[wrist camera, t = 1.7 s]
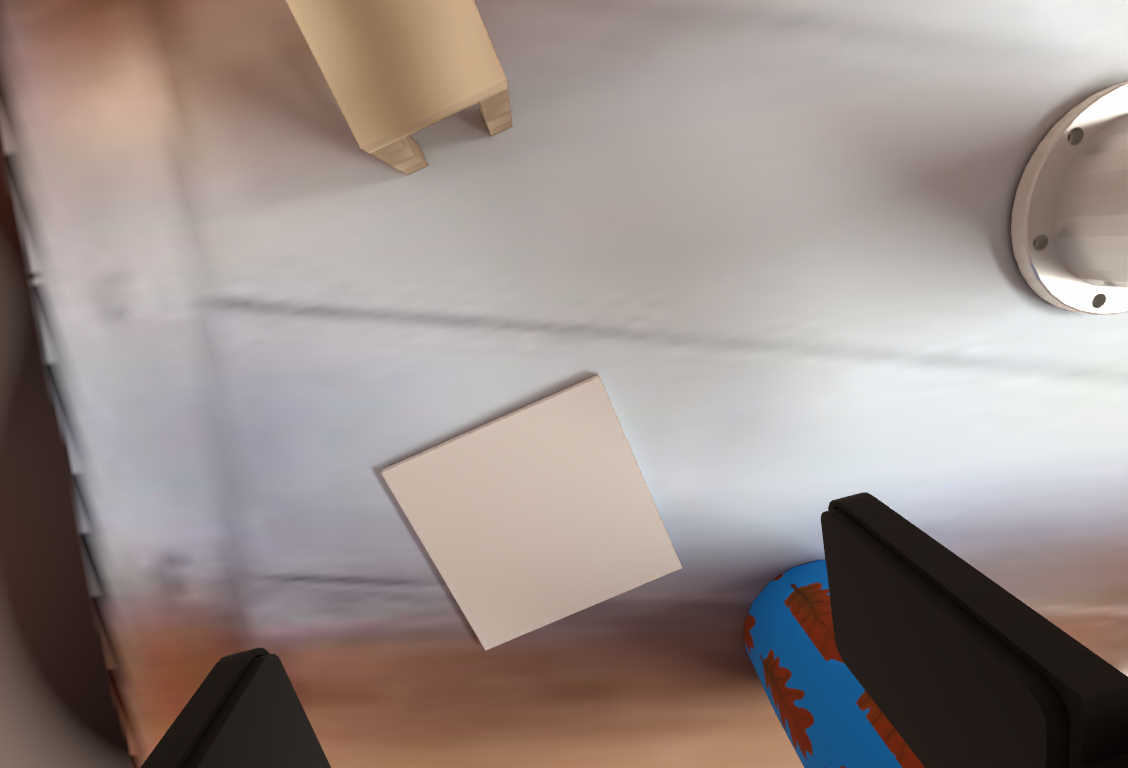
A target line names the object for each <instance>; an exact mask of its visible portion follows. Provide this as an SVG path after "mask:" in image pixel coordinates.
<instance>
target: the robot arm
mask: <svg viewBox="0 0 1128 768" xmlns="http://www.w3.org/2000/svg"><path fill="white" fill-rule="evenodd" d="M1011 237H1012V245H1013V252H1014V256H1015V259H1016V261H1017V264H1018V267H1019V270H1020V272H1021V274H1022V275H1023V277H1024V278H1025V280H1026V282H1027V283H1028V285H1029V286H1030V287H1031V288H1032V289H1033V290H1034V291H1035V292H1036V293H1037V294H1038V295H1039V296H1040V297H1041V298H1042V299H1044V300H1045V301H1047V302H1049V303H1051V304H1052V305H1054V306H1056V307H1058V308H1062V309H1065V310H1069V311H1072V312H1078V313H1085V314H1094V315H1104V314H1118V313H1122V312H1126V311H1128V81H1127V82H1124V83H1120V84H1116V85H1113V86H1111V87H1109V88H1107V89H1104V90H1102V91H1100V92H1098V93H1095V94H1093V95H1092V96H1090V97H1089V98H1087V99H1086V100H1084V101H1083V102H1081V103H1080V104H1078V105H1077V106H1075V107H1074V108H1072V109H1071V110H1070V111H1069V112H1068V113H1067V114H1066V115H1065V116H1064V117H1063V118H1061V119H1060V120H1059V121H1058V122H1057V123H1056V124H1055V125H1054V126H1053V127H1052V129H1051V130H1050V131H1049V132H1048V134H1047V135H1046V136H1045V137H1044V139H1043V140H1042V141H1041V142H1040V144H1039V145H1038V147H1037V148H1036V150H1035V152H1034V154H1033V155H1032V157H1031V159H1030V160H1029V162H1028V164H1027V166H1026V168H1025V170H1024V173H1023V175H1022V178H1021V180H1020V183H1019V185H1018V188H1017V192H1016V196H1015V201H1014V205H1013V210H1012V223H1011ZM821 525H822V534H823V542H824V551H825V560H826V568H827V577H828V586H829V594H830V603H831V612H832V620H833V629H834V638H835V643H836V647H837V650H838V652H839V654H840V656H841V658H842V660H843V662H844V663H845V665H846V666H847V667H848V669H849V670H850V671H851V673H852V674H853V675H854V676H855V678H856V679H857V680H858V682H859V683H860V684H861V686H862V687H863V688H864V689H865V691H866V692H867V693H868V695H869V696H870V697H871V698H872V700H873V701H874V702H875V704H876V705H877V706H878V707H879V709H880V710H881V711H882V713H883V714H884V715H885V717H886V718H887V719H888V720H889V722H890V723H891V724H892V726H893V727H894V728H895V729H896V731H897V732H898V733H899V735H900V736H901V737H902V738H903V740H904V741H905V742H906V744H907V745H908V746H909V747H910V749H911V750H912V751H913V753H914V754H915V755H916V757H917V758H918V759H919V760H920V762H921V763H922V764H923V766H924V767H925V768H1128V677H1127V676H1126V675H1124V674H1123V673H1121V672H1120V671H1119V670H1117V669H1116V668H1114V667H1113V666H1112V665H1110V664H1109V663H1107V662H1106V661H1105V660H1103V659H1102V658H1100V657H1099V656H1098V655H1096V654H1095V653H1093V652H1092V651H1091V650H1089V649H1088V648H1086V647H1085V646H1083V645H1082V644H1081V643H1079V642H1078V641H1076V640H1075V639H1074V638H1072V637H1071V636H1069V635H1068V634H1067V633H1065V632H1064V631H1062V630H1061V629H1060V628H1058V627H1057V626H1055V625H1054V624H1053V623H1051V622H1050V621H1048V620H1047V619H1045V618H1044V617H1043V616H1041V615H1040V614H1038V613H1037V612H1036V611H1034V610H1033V609H1031V608H1030V607H1029V606H1027V605H1026V604H1024V603H1023V602H1022V601H1020V600H1019V599H1017V598H1016V597H1015V596H1013V595H1012V594H1010V593H1009V592H1007V591H1006V590H1005V589H1003V588H1002V587H1000V586H999V585H998V584H996V583H995V582H993V581H992V580H991V579H989V578H988V577H986V576H985V575H984V574H982V573H981V572H979V571H978V570H977V569H975V568H974V567H972V566H971V565H969V564H968V563H967V562H965V561H964V560H962V559H961V558H960V557H958V556H957V555H955V554H954V553H953V552H951V551H950V550H948V549H947V548H946V547H944V546H943V545H941V544H940V543H939V542H937V541H936V540H934V539H933V538H931V537H930V536H929V535H927V534H926V533H924V532H923V531H922V530H920V529H919V528H917V527H916V526H915V525H913V524H912V523H910V522H909V521H908V520H906V519H905V518H903V517H902V516H901V515H899V514H898V513H896V512H895V511H893V510H892V509H891V508H889V507H888V506H886V505H885V504H884V503H882V502H881V501H879V500H878V499H877V498H875V497H874V496H872V495H871V494H869V493H859V494H855V495H852V496H848V497H844V498H840V499H836V500H832V501H831V502H830V504H829V507H828V511H826V512H823V513H822V515H821ZM141 768H331V767H330V765H329V762H328V760H327V758H326V756H325V754H324V752H323V750H322V748H321V745H320V743H319V741H318V739H317V737H316V735H315V733H314V731H313V728H312V726H311V724H310V722H309V720H308V718H307V716H306V714H305V712H304V709H303V707H302V705H301V703H300V701H299V699H298V697H297V695H296V692H295V690H294V688H293V686H292V684H291V682H290V680H289V678H288V675H287V673H286V671H285V669H284V667H283V665H282V663H281V661H280V659H279V657H278V656H276V655H275V654H269V652H268V651H267V650H265V649H264V648H256V649H252V650H248V651H244V652H240V653H236V654H232V655H228V656H225V657H223V658H221V659H220V660H219V661H218V662H217V663H216V665H215V666H214V668H213V669H212V670H211V672H210V673H209V674H208V676H207V677H206V679H205V680H204V681H203V683H202V684H201V685H200V687H199V688H198V689H197V691H196V692H195V694H194V695H193V696H192V698H191V699H190V700H189V702H188V703H187V705H186V706H185V707H184V709H183V710H182V711H181V713H180V714H179V716H178V717H177V718H176V720H175V721H174V722H173V724H172V725H171V727H170V728H169V729H168V731H167V732H166V733H165V735H164V736H163V738H162V739H161V740H160V742H159V743H158V744H157V746H156V747H155V749H154V750H153V751H152V753H151V754H150V755H149V757H148V758H147V760H146V761H145V762H144V764H143V765H142V766H141Z"/></svg>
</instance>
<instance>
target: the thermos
mask: <svg viewBox="0 0 1128 768" xmlns="http://www.w3.org/2000/svg"><path fill="white" fill-rule="evenodd" d="M744 646H745V648H746V650H747V652H748V655H749V657H750V659H751V661H752V663H753V666H754V668H755V670H756V672H757V674H758V676H759V679H760V681H761V683H762V685H763V687H764V689H765V692H766V694H767V696H768V698H769V700H770V702H771V704H772V707H773V709H774V711H775V713H776V715H777V717H778V719H779V721H780V723H781V724H782V726H783V728H784V730H785V732H786V734H787V736H788V738H789V740H790V741H791V743H792V745H793V747H794V749H795V751H796V753H797V755H798V756H799V758H800V760H801V762H802V764H803V766H804V768H925V767H924V766H923V764H922V763H921V762H920V760H919V759H918V758H917V757H916V755H915V754H914V753H913V751H912V750H911V749H910V747H909V746H908V745H907V744H906V742H905V741H904V740H903V738H902V737H901V736H900V735H899V733H898V732H897V731H896V729H895V728H894V727H893V726H892V724H891V723H890V722H889V720H888V719H887V718H886V717H885V715H884V714H883V713H882V711H881V710H880V709H879V707H878V706H877V705H876V704H875V702H874V701H873V700H872V698H871V697H870V696H869V695H868V693H867V692H866V691H865V689H864V688H863V687H862V686H861V684H860V683H859V682H858V680H857V679H856V678H855V676H854V675H853V674H852V673H851V671H850V670H849V669H848V667H847V666H846V665H845V663H844V662H843V660H842V658H841V656H840V654H839V652H838V650H837V647H836V643H835V638H834V629H833V620H832V612H831V603H830V594H829V586H828V577H827V568H826V560H817V561H814V562H810V563H807V564H803V565H800V566H796V567H793V568H791V569H790V570H788V571H786V572H785V573H783V574H782V575H780V576H779V577H777V578H775V579H774V580H772V581H771V582H770V583H769V584H768V585H767V586H766V587H765V588H764V590H763V591H762V592H761V593H760V594H759V595H758V597H757V598H756V599H755V600H754V601H753V603H752V606H751V608H750V611H749V613H748V616H747V618H746V621H745V624H744Z"/></svg>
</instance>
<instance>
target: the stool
mask: <svg viewBox="0 0 1128 768" xmlns="http://www.w3.org/2000/svg"><path fill="white" fill-rule="evenodd" d="M286 2H287V4H288V6H289V8H290V10H291V12H292V14H293V16H294V18H295V20H296V22H297V24H298V26H299V28H300V30H301V32H302V34H303V35H304V37H305V39H306V41H307V43H308V45H309V47H310V49H311V51H312V53H313V55H314V57H315V59H316V61H317V63H318V65H319V67H320V69H321V71H322V73H323V75H324V77H325V79H326V81H327V83H328V85H329V87H330V89H331V91H332V93H333V95H334V97H335V99H336V101H337V103H338V105H339V107H340V109H341V111H342V113H343V115H344V117H345V119H346V121H347V123H348V125H349V127H350V129H351V131H352V133H353V135H354V137H355V139H356V141H357V143H358V145H359V147H360V148H361V149H362V150H364V151H366V152H368V153H369V154H371V155H373V156H375V157H376V158H378V159H380V160H382V161H383V162H385V163H387V164H389V165H390V166H392V167H394V168H396V169H397V170H399V171H401V172H403V173H404V174H406V175H409V174H411V173H414V172H416V171H418V170H420V169H422V168H424V167H426V166H428V164H427V162H426V160H425V158H424V156H423V153H422V151H421V149H420V147H419V145H418V143H417V142H416V141H415V140H414V139H413V138H412V137H411V136H410V134H412V133H414V132H417V131H419V130H421V129H423V128H425V127H427V126H429V125H431V124H434V123H436V122H438V121H440V120H442V119H444V118H446V117H449V116H451V115H453V114H455V113H457V112H459V111H461V110H463V109H466V108H468V107H470V106H472V105H474V104H476V103H478V106H479V108H480V111H481V114H482V116H483V118H484V121H485V123H486V125H487V128H488V130H489V132H490V135H491V136H493V135H495V134H497V133H499V132H502V131H504V130H506V129H508V128H510V127H512V119H511V111H510V103H509V95H508V87H507V79H506V77H505V74H504V72H503V70H502V67H501V65H500V62H499V60H498V58H497V55H496V53H495V50H494V48H493V45H492V43H491V41H490V38H489V36H488V33H487V31H486V29H485V26H484V24H483V21H482V19H481V17H480V14H479V12H478V9H477V7H476V5H475V2H474V0H286Z"/></svg>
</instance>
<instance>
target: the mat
mask: <svg viewBox="0 0 1128 768" xmlns="http://www.w3.org/2000/svg"><path fill="white" fill-rule="evenodd" d="M381 474H382V476H383V477H384V479H385V481H386V482H387V484H388V486H389V487H390V489H391V491H392V493H393V494H394V496H395V498H396V499H397V501H398V503H399V504H400V506H401V508H402V510H403V511H404V513H405V515H406V516H407V518H408V520H409V521H410V523H411V525H412V526H413V528H414V530H415V532H416V533H417V535H418V537H419V538H420V540H421V542H422V543H423V545H424V547H425V549H426V550H427V552H428V554H429V555H430V557H431V559H432V560H433V562H434V564H435V566H436V567H437V569H438V571H439V572H440V574H441V576H442V577H443V579H444V581H445V582H446V584H447V586H448V588H449V589H450V591H451V593H452V594H453V596H454V598H455V599H456V601H457V603H458V605H459V606H460V608H461V610H462V611H463V613H464V615H465V616H466V618H467V620H468V622H469V623H470V625H471V627H472V628H473V630H474V632H475V633H476V635H477V637H478V638H479V640H480V642H481V644H482V645H483V647H484V649H485V650H488V649H490V648H493V647H495V646H498V645H500V644H502V643H505V642H507V641H510V640H512V639H514V638H517V637H519V636H521V635H524V634H526V633H529V632H531V631H533V630H536V629H538V628H541V627H543V626H545V625H548V624H550V623H552V622H555V621H557V620H560V619H562V618H564V617H567V616H569V615H572V614H574V613H576V612H579V611H581V610H583V609H586V608H588V607H591V606H593V605H595V604H598V603H600V602H603V601H605V600H607V599H610V598H612V597H614V596H617V595H619V594H622V593H624V592H626V591H629V590H631V589H634V588H636V587H638V586H641V585H643V584H645V583H648V582H650V581H653V580H655V579H657V578H660V577H662V576H665V575H667V574H669V573H672V572H674V571H676V570H679V569H681V568H682V566H681V563H680V561H679V559H678V557H677V554H676V552H675V550H674V547H673V545H672V543H671V540H670V538H669V536H668V533H667V531H666V529H665V526H664V524H663V522H662V520H661V517H660V515H659V513H658V510H657V508H656V506H655V503H654V501H653V499H652V496H651V494H650V492H649V489H648V487H647V485H646V482H645V480H644V478H643V476H642V473H641V471H640V469H639V466H638V464H637V462H636V459H635V457H634V455H633V452H632V450H631V448H630V445H629V443H628V441H627V439H626V436H625V434H624V432H623V429H622V427H621V425H620V422H619V420H618V418H617V415H616V413H615V411H614V408H613V406H612V404H611V402H610V399H609V397H608V395H607V392H606V390H605V388H604V385H603V383H602V381H601V378H600V376H599V374H598V375H596V376H593V377H591V378H589V379H586V380H584V381H582V382H580V383H577V384H575V385H573V386H571V387H568V388H566V389H564V390H561V391H559V392H557V393H555V394H552V395H550V396H548V397H546V398H543V399H541V400H539V401H536V402H534V403H532V404H530V405H527V406H525V407H523V408H521V409H518V410H516V411H514V412H511V413H509V414H507V415H505V416H502V417H500V418H498V419H496V420H493V421H491V422H489V423H486V424H484V425H482V426H480V427H477V428H475V429H473V430H471V431H468V432H466V433H464V434H461V435H459V436H457V437H455V438H452V439H450V440H448V441H446V442H443V443H441V444H439V445H436V446H434V447H432V448H430V449H427V450H425V451H423V452H421V453H418V454H416V455H414V456H411V457H409V458H407V459H405V460H402V461H400V462H398V463H396V464H393V465H391V466H389V467H386V468H384V469H383V471H382V472H381Z"/></svg>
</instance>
